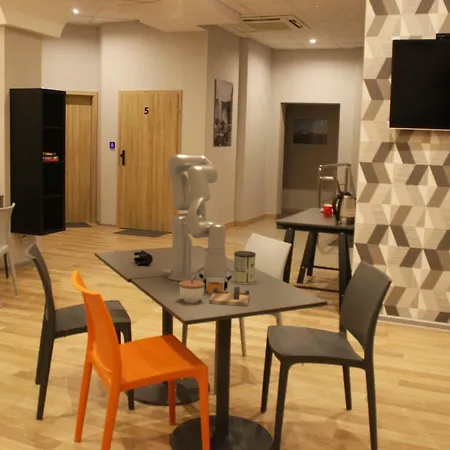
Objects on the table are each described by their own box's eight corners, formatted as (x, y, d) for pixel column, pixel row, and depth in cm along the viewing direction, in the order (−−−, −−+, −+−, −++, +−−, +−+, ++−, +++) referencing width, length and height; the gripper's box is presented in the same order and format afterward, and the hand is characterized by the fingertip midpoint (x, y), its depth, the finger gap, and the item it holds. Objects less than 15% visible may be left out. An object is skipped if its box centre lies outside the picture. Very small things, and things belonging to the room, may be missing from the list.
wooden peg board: (208, 303, 266) (209, 288, 265) (213, 294, 280) (213, 280, 279) (247, 306, 265) (247, 290, 264) (249, 297, 279) (250, 282, 278)
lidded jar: (209, 301, 270) (210, 279, 268) (191, 306, 262) (192, 283, 260) (191, 296, 277) (192, 275, 275) (173, 300, 269) (174, 278, 267)
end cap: (152, 266, 332) (153, 253, 331) (139, 267, 329) (140, 254, 328) (146, 262, 341) (146, 249, 340) (133, 263, 338) (133, 250, 337)
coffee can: (236, 278, 313) (237, 250, 311) (256, 280, 310) (257, 252, 308) (230, 282, 303) (231, 253, 301) (251, 285, 300) (253, 255, 298)
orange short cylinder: (206, 293, 282) (207, 284, 282) (208, 289, 289) (209, 281, 288) (221, 294, 282) (221, 285, 281) (222, 290, 288) (223, 282, 287)
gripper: (195, 251, 280) (194, 290, 282) (235, 254, 278) (233, 292, 280) (198, 248, 287) (197, 286, 290) (236, 250, 285) (235, 288, 288)
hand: (214, 289), depth 285 cm, fingers open, 8 cm apart
